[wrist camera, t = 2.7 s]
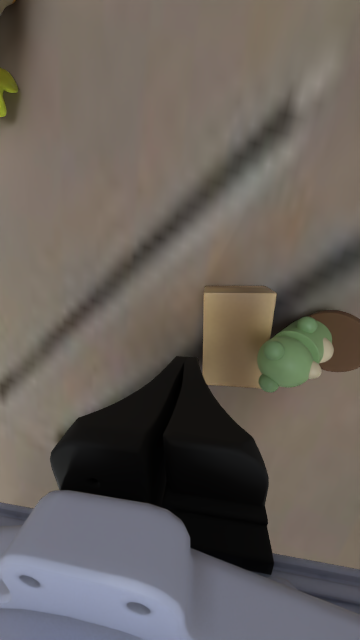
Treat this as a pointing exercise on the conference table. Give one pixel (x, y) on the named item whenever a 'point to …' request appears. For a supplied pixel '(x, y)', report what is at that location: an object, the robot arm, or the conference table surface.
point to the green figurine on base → (310, 349)
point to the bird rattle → (5, 72)
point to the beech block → (235, 333)
